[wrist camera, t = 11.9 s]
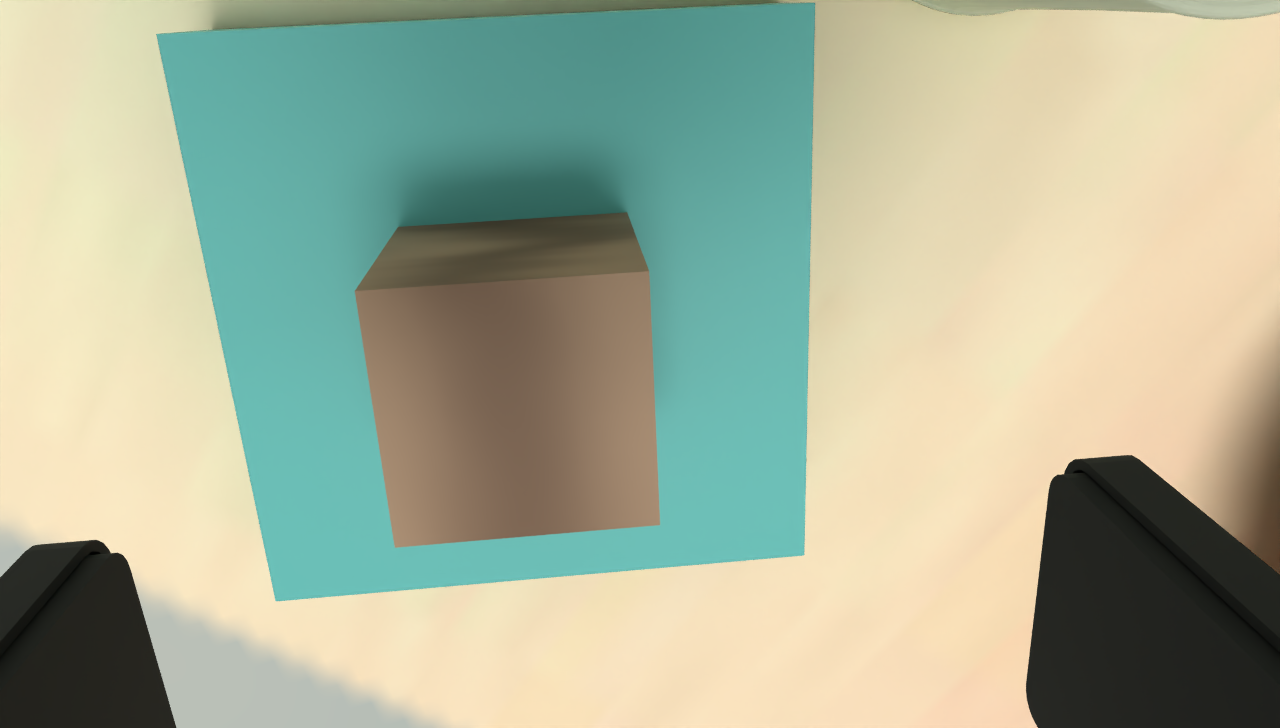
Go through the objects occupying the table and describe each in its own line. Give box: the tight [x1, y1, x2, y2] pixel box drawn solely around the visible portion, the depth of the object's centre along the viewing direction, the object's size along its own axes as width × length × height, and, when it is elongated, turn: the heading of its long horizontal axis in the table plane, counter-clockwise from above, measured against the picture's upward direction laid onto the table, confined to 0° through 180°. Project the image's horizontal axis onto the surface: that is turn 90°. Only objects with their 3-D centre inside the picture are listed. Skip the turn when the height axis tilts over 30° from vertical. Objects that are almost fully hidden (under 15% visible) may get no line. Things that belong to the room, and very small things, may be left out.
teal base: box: [156, 3, 815, 601], centre depth 28 cm, size 16×16×4 cm
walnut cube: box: [355, 212, 660, 548], centre depth 24 cm, size 6×6×6 cm
